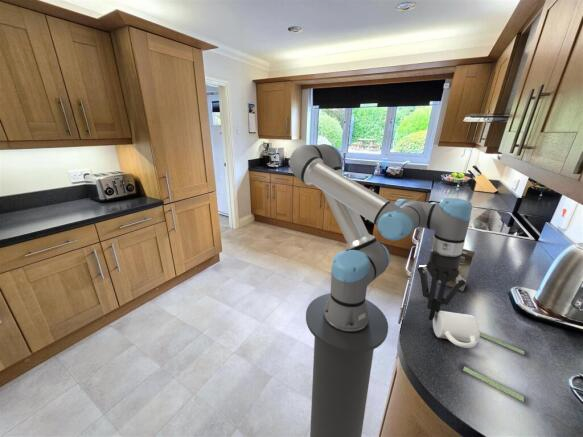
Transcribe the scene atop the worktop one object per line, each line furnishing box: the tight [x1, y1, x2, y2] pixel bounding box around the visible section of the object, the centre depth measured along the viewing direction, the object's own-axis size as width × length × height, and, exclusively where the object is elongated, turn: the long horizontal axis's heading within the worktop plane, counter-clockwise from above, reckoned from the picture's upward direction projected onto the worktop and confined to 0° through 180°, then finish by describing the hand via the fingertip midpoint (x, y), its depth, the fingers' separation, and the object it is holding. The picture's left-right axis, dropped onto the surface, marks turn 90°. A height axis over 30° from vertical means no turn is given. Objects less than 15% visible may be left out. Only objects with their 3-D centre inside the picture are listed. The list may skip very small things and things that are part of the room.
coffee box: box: [438, 248, 476, 292], centre depth 101 cm, size 9×6×16 cm
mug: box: [432, 310, 481, 349], centre depth 73 cm, size 12×10×8 cm
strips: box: [462, 332, 525, 402], centre depth 68 cm, size 12×20×1 cm, turn 137°
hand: (431, 317), depth 78 cm, fingers closed
